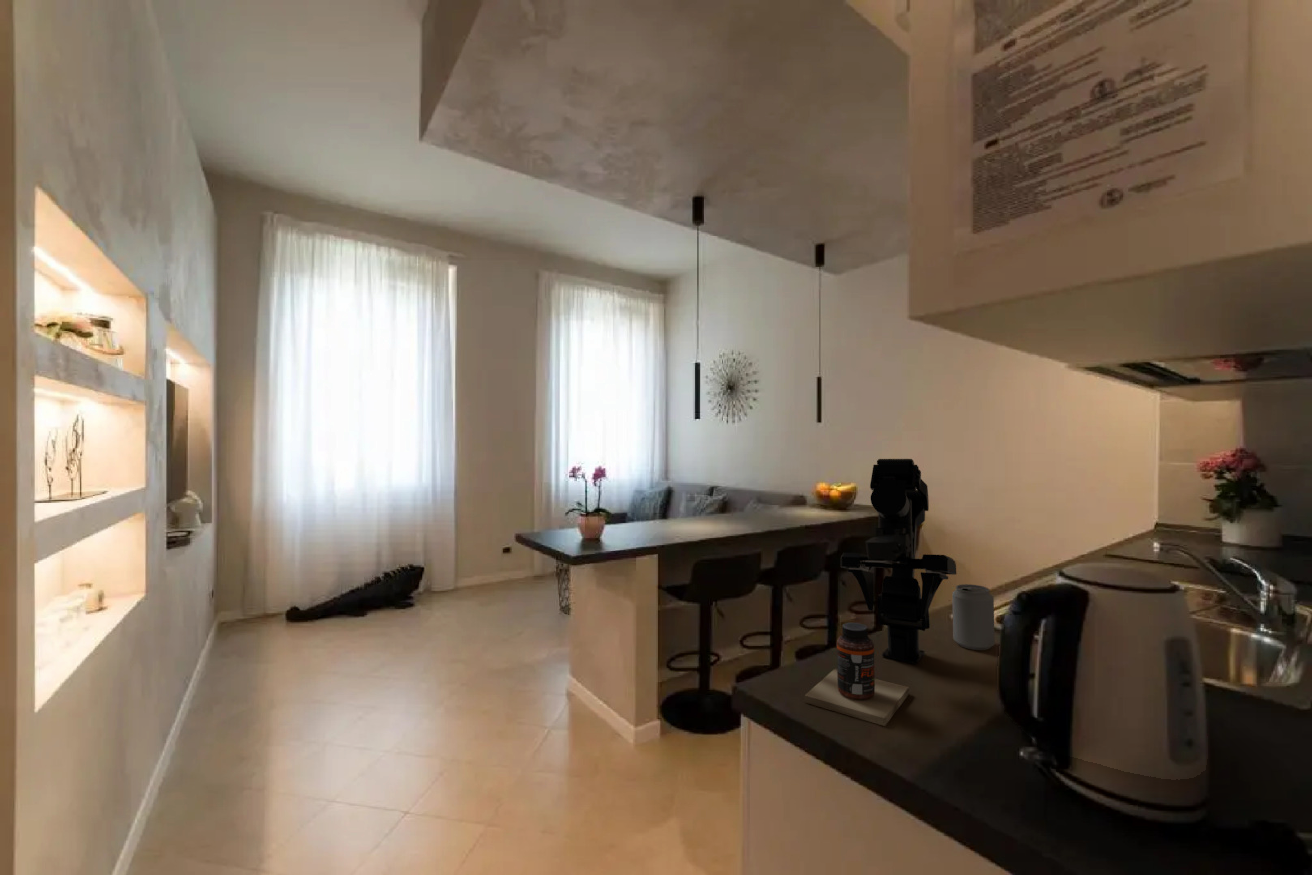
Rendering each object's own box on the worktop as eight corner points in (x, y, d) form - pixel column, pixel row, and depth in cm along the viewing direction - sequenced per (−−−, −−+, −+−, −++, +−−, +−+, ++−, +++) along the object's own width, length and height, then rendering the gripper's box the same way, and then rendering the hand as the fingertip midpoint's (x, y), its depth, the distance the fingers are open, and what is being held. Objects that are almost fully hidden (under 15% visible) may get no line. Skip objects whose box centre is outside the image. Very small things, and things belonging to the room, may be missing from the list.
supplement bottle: (867, 705, 91) (865, 635, 91) (831, 694, 95) (830, 627, 95) (880, 691, 95) (878, 624, 95) (845, 682, 99) (844, 617, 99)
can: (947, 637, 122) (946, 582, 122) (985, 638, 121) (983, 582, 121) (961, 651, 114) (960, 592, 114) (1001, 652, 113) (1000, 592, 113)
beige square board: (834, 675, 105) (834, 668, 105) (908, 694, 97) (908, 687, 97) (804, 702, 95) (804, 695, 95) (884, 726, 87) (884, 718, 87)
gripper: (827, 518, 105) (826, 605, 101) (935, 516, 93) (939, 615, 88) (852, 527, 113) (852, 609, 108) (955, 527, 100) (959, 619, 96)
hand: (896, 612), depth 100 cm, fingers open, 9 cm apart
